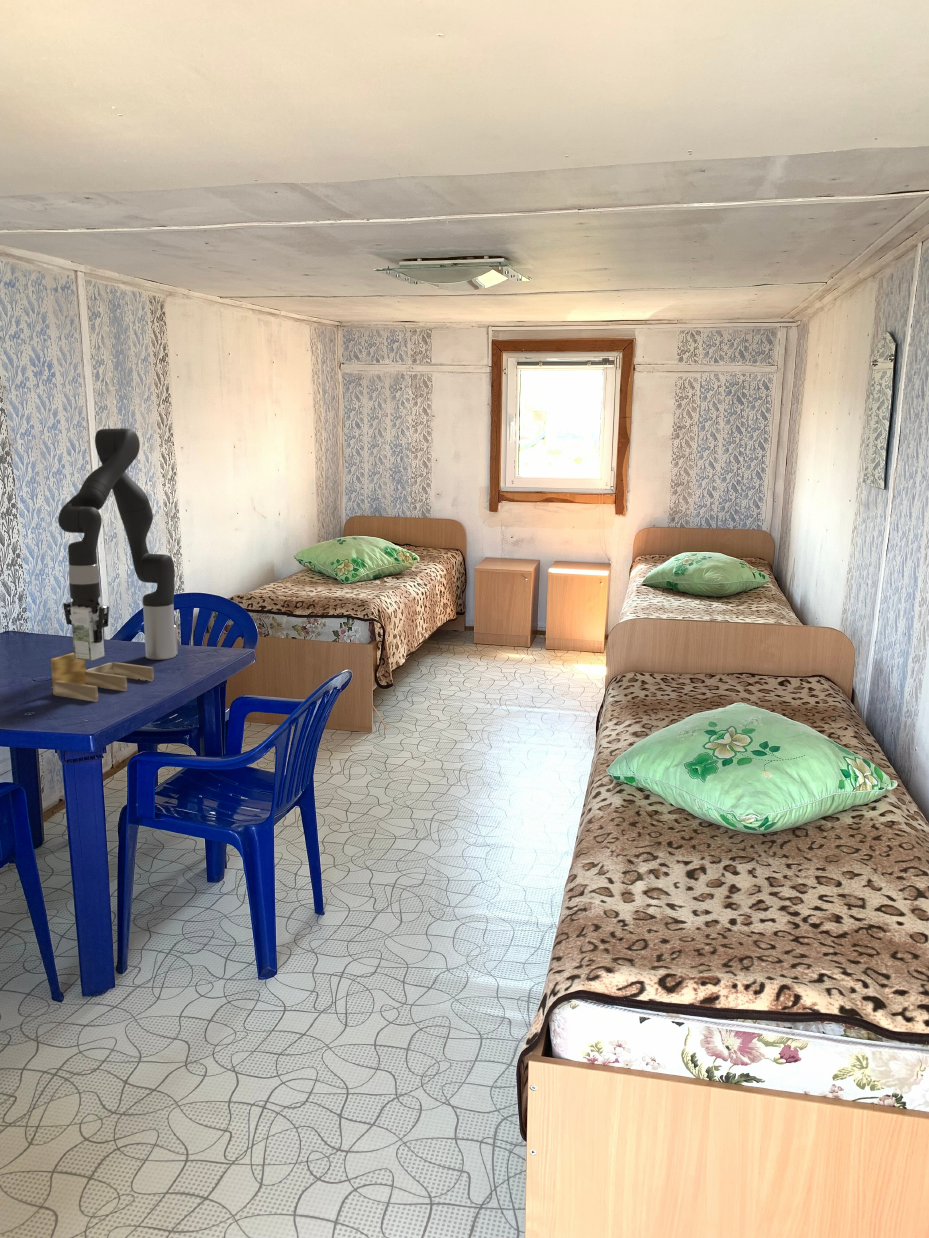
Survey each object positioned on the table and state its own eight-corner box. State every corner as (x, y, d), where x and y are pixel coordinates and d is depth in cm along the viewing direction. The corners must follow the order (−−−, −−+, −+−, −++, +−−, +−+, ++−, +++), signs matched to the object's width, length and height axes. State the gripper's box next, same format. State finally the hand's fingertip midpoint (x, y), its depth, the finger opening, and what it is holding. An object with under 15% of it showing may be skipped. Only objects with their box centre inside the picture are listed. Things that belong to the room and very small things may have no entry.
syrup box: (105, 656, 245) (102, 604, 242) (91, 661, 240) (87, 608, 237) (87, 654, 247) (84, 603, 244) (73, 659, 241) (69, 606, 238)
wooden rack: (112, 674, 264) (110, 642, 262) (154, 680, 258) (152, 647, 256) (51, 694, 243) (49, 659, 241) (95, 701, 237) (93, 665, 235)
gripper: (115, 580, 240) (119, 641, 243) (74, 576, 245) (78, 636, 248) (95, 584, 233) (99, 647, 236) (52, 580, 238) (57, 641, 241)
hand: (88, 641), depth 242 cm, fingers closed on syrup box, 6 cm apart
